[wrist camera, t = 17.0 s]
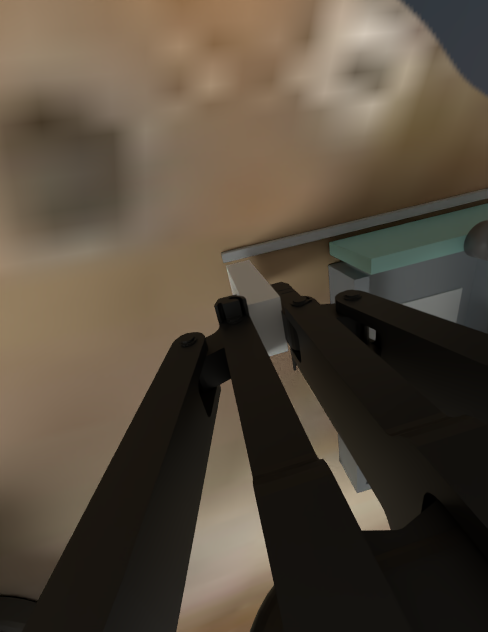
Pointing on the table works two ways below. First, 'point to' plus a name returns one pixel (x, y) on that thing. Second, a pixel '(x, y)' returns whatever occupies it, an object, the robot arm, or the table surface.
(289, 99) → the table surface
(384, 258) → the lid
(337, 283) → the housing
